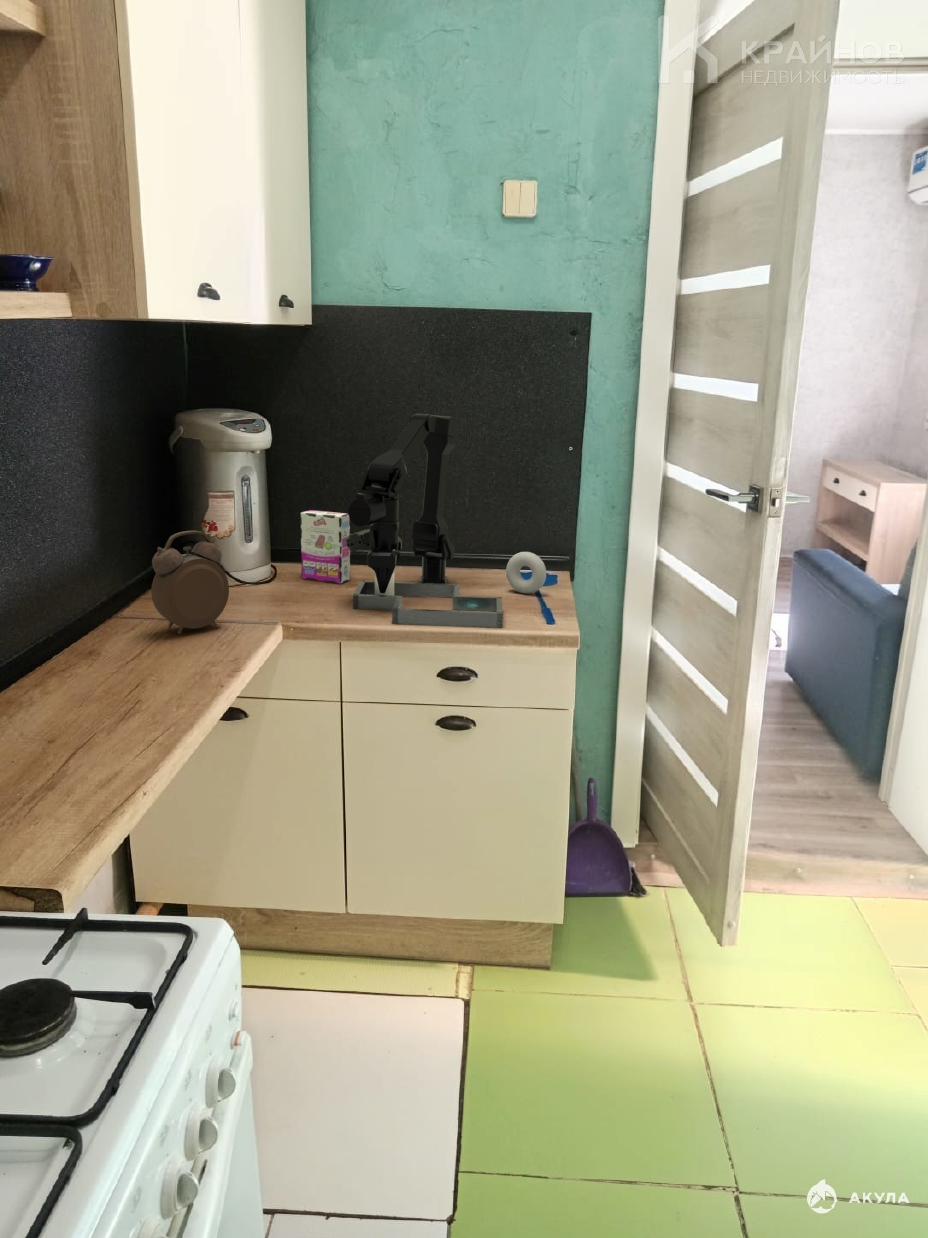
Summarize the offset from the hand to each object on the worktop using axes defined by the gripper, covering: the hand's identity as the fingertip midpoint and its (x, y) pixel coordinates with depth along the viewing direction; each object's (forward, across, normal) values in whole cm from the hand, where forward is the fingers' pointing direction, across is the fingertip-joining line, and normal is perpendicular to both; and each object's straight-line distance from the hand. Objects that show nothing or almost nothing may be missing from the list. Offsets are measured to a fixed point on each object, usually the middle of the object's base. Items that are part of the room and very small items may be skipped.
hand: (384, 588), depth 220 cm
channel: (+3, +5, +10) cm, 12 cm away
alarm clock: (+3, +26, -36) cm, 45 cm away
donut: (+3, -12, +32) cm, 34 cm away
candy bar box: (+3, -18, -16) cm, 24 cm away
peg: (+3, 0, 0) cm, 3 cm away
